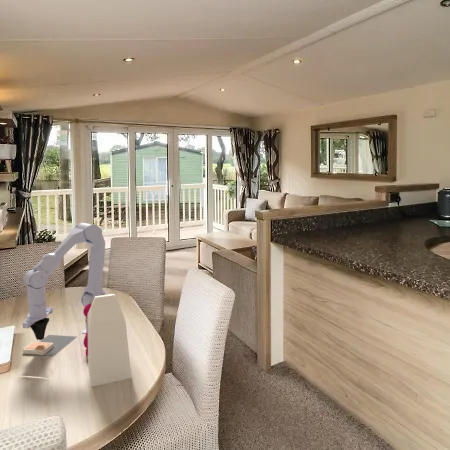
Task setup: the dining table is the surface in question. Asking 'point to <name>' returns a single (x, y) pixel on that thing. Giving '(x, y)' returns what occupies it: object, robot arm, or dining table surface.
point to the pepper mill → (85, 311)
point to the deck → (38, 348)
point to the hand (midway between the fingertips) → (40, 339)
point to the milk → (107, 342)
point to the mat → (56, 344)
